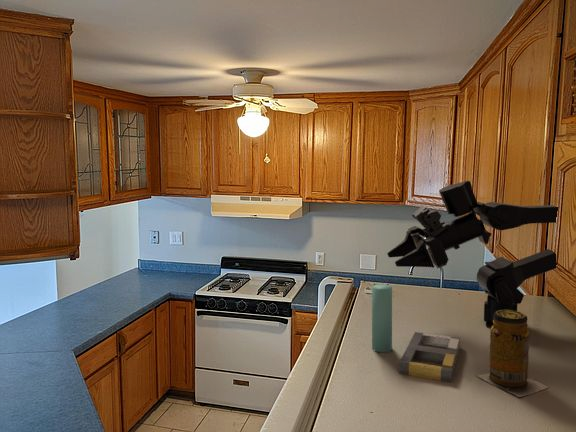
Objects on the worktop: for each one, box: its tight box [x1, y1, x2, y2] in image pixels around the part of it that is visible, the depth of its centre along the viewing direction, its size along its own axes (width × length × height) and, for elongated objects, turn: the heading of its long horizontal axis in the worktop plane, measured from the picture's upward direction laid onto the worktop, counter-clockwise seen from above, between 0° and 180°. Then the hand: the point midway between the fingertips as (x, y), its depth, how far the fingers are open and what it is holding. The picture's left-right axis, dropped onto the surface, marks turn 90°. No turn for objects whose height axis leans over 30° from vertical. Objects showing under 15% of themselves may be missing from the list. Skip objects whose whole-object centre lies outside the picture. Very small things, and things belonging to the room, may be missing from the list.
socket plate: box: [398, 331, 461, 383], centre depth 89 cm, size 9×16×2 cm, turn 154°
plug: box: [371, 284, 393, 354], centre depth 94 cm, size 4×4×13 cm
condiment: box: [477, 310, 549, 398], centre depth 78 cm, size 7×8×12 cm
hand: (391, 259), depth 105 cm, fingers open, 9 cm apart
